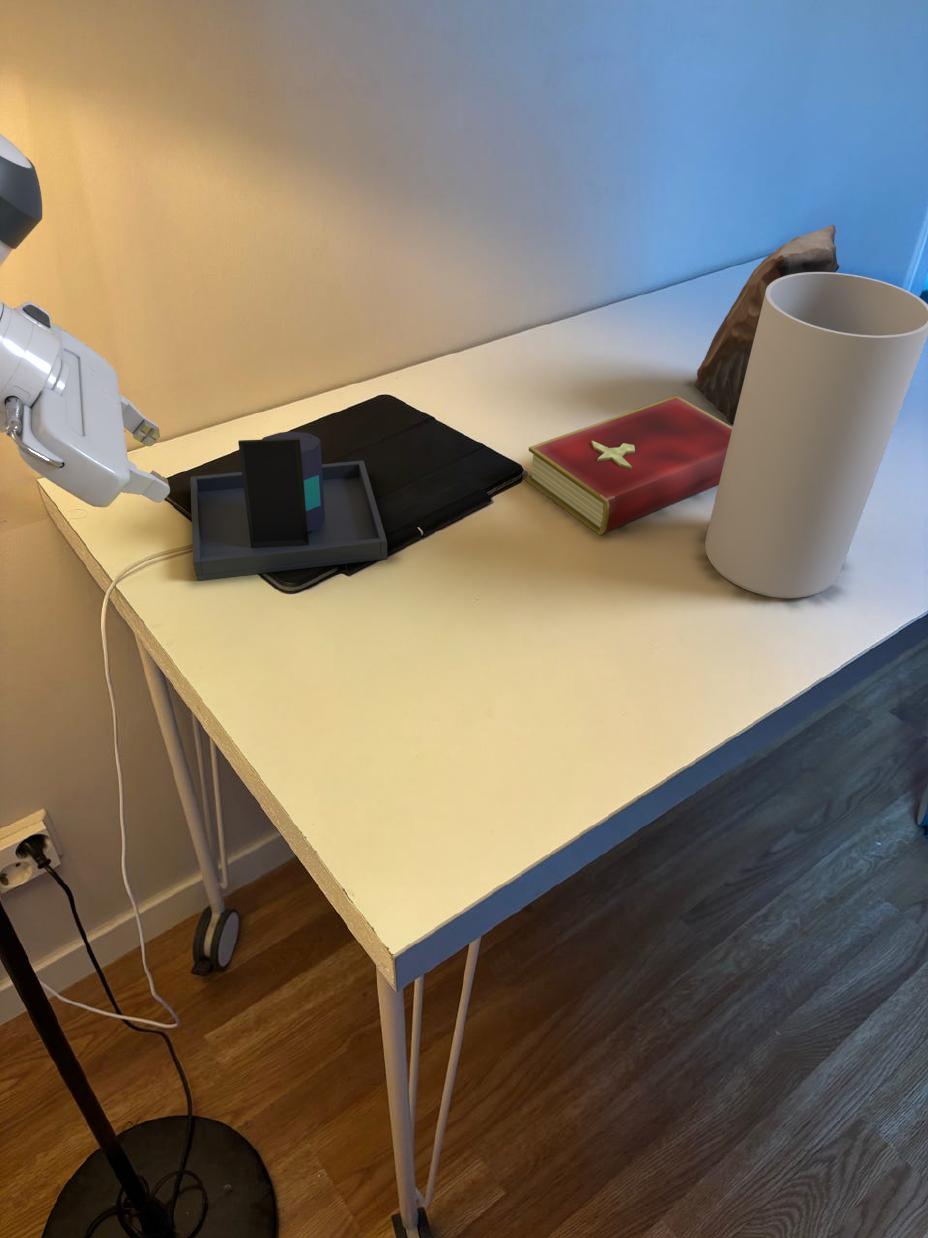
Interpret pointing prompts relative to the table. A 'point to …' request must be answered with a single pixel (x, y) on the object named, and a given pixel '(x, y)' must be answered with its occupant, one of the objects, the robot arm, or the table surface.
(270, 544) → the speaker
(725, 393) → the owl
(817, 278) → the cylinder vase
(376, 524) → the shallow rimmed tray
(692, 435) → the hardcover book
